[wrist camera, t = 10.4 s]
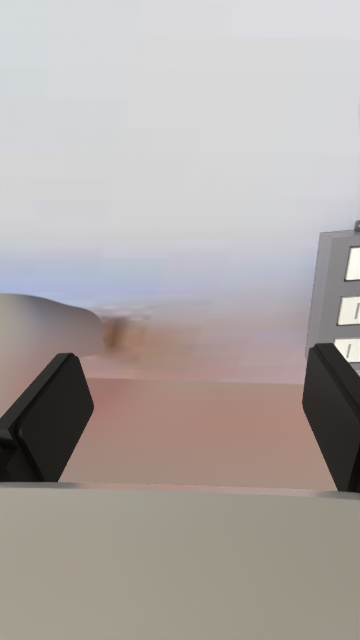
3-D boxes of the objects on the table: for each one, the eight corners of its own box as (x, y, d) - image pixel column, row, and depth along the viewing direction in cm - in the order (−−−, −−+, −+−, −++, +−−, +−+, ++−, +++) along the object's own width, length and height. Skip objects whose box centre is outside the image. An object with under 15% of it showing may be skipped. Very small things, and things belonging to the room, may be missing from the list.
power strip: (321, 223, 35) (333, 227, 32) (395, 216, 34) (417, 220, 31) (304, 356, 45) (313, 371, 41) (362, 354, 44) (376, 369, 40)
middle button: (335, 291, 38) (343, 298, 36) (366, 289, 37) (376, 296, 35) (331, 316, 40) (339, 324, 37) (360, 315, 39) (370, 323, 37)
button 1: (328, 331, 41) (336, 340, 38) (357, 330, 40) (366, 338, 38) (325, 353, 43) (332, 362, 40) (352, 352, 42) (360, 362, 40)
